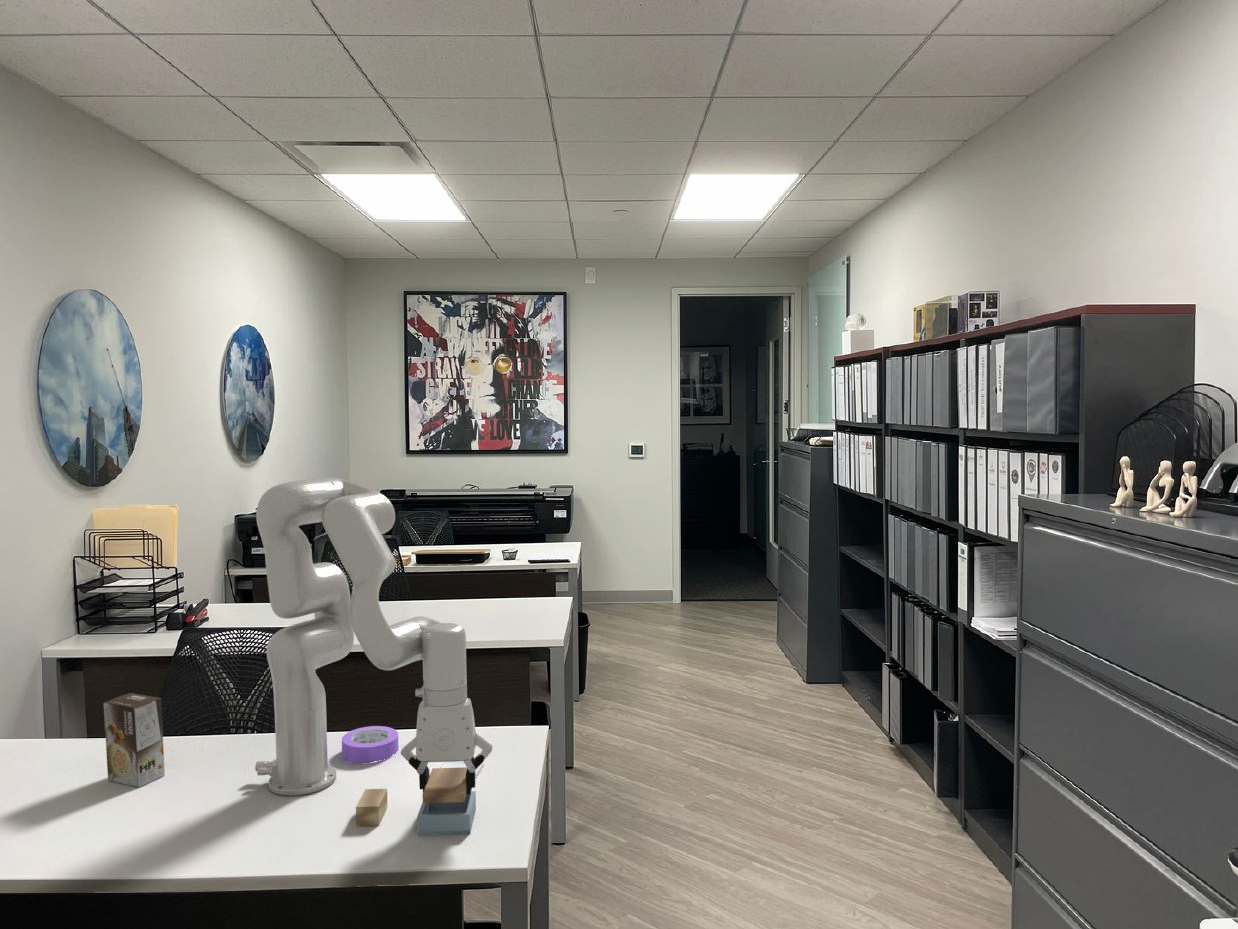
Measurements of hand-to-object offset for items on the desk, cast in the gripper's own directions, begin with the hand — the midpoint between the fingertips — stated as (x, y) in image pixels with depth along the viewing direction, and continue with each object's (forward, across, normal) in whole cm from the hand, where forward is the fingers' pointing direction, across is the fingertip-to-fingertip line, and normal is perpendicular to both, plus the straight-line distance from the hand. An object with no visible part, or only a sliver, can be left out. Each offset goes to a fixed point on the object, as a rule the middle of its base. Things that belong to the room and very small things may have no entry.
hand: (447, 791), depth 154 cm
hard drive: (+6, -1, +18) cm, 19 cm away
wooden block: (+6, -14, +3) cm, 16 cm away
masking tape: (+6, -21, +32) cm, 39 cm away
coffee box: (+5, -65, +22) cm, 69 cm away
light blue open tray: (+6, 0, 0) cm, 6 cm away
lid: (0, 0, 0) cm, 0 cm away
